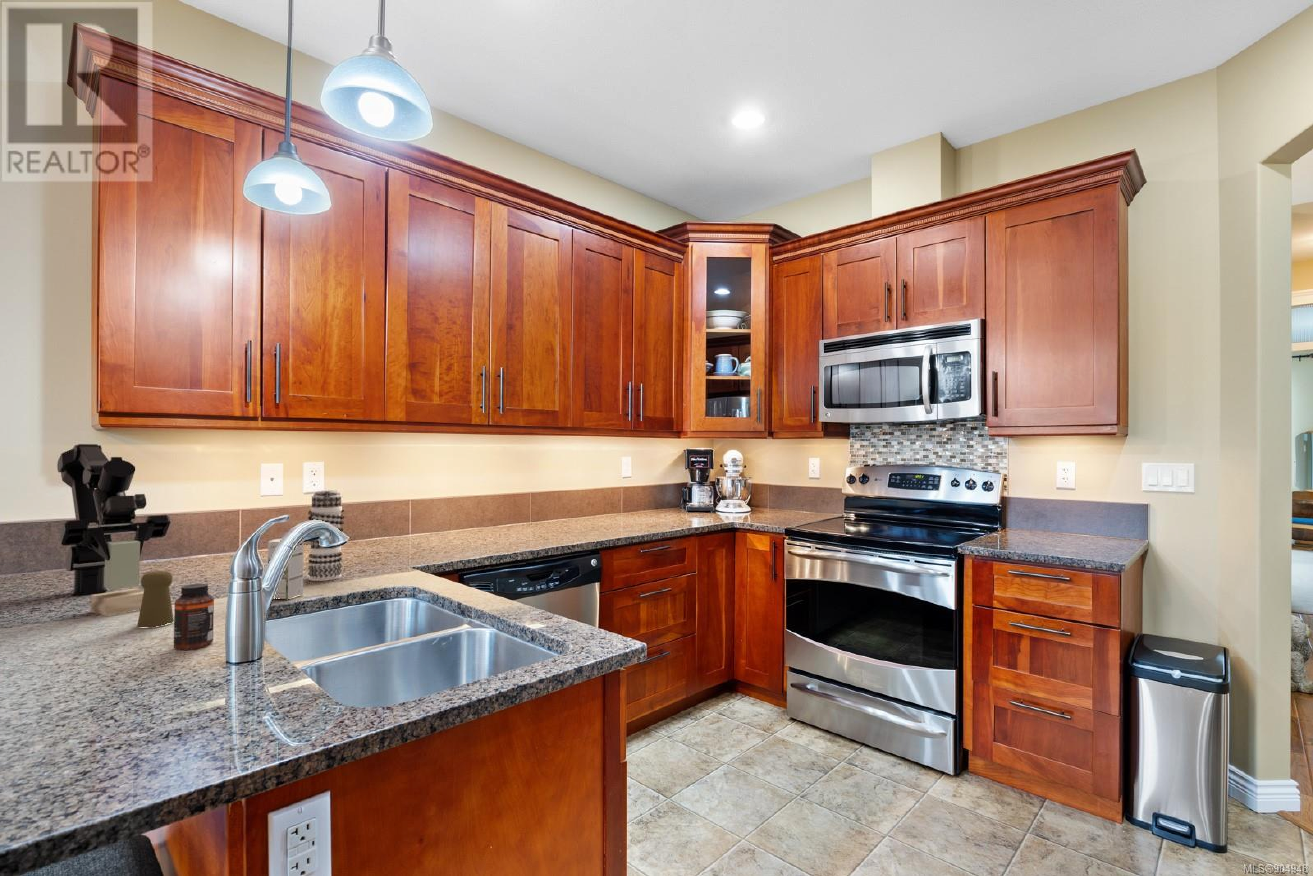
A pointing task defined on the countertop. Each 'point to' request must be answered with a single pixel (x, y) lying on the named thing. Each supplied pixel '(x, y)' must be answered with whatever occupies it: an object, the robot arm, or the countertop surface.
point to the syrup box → (289, 572)
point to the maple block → (116, 602)
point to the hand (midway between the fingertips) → (124, 557)
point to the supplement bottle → (193, 618)
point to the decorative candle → (322, 560)
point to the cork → (156, 599)
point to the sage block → (122, 564)
